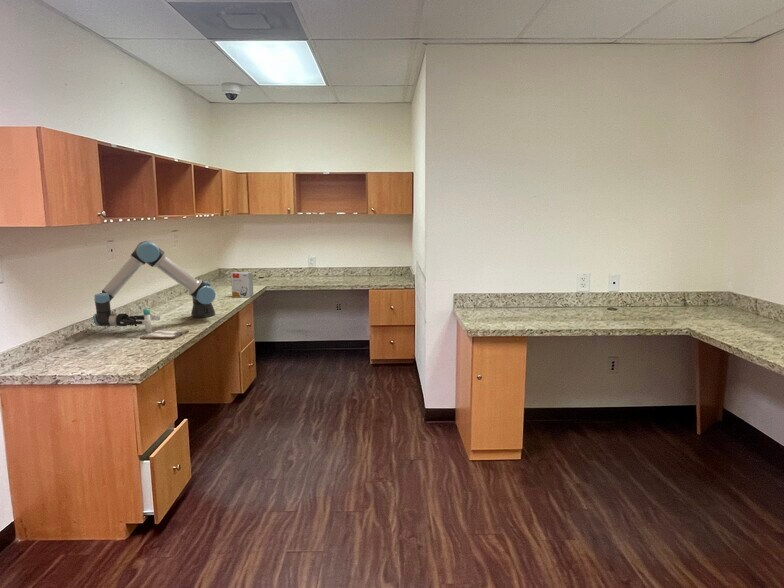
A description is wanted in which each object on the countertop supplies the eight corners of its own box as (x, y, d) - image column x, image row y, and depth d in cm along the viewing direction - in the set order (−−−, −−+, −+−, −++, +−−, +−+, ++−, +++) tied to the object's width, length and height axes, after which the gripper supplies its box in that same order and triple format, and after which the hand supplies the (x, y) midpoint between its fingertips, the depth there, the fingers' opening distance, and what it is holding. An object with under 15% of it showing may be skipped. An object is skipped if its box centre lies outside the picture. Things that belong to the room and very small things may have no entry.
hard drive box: (231, 297, 404) (229, 273, 401) (236, 295, 412) (234, 271, 408) (249, 297, 401) (247, 273, 397) (254, 296, 408) (252, 271, 405)
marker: (148, 331, 296) (145, 308, 294) (153, 331, 296) (150, 308, 293) (144, 333, 293) (141, 309, 290) (149, 333, 292) (147, 309, 290)
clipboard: (157, 331, 296) (157, 328, 295) (188, 332, 293) (188, 328, 292) (140, 338, 280) (139, 335, 280) (173, 339, 277) (172, 335, 277)
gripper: (133, 321, 308) (166, 321, 304) (106, 330, 285) (142, 331, 282) (131, 309, 306) (165, 309, 303) (105, 318, 284) (140, 318, 280)
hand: (154, 320), depth 292 cm, fingers open, 11 cm apart
